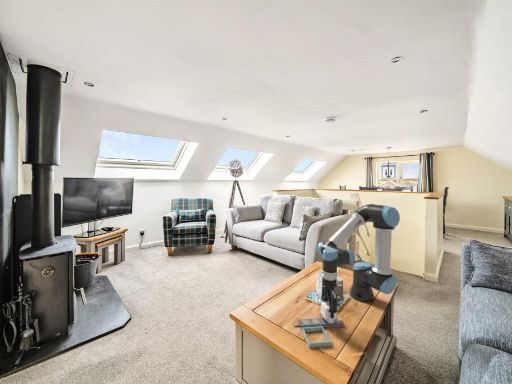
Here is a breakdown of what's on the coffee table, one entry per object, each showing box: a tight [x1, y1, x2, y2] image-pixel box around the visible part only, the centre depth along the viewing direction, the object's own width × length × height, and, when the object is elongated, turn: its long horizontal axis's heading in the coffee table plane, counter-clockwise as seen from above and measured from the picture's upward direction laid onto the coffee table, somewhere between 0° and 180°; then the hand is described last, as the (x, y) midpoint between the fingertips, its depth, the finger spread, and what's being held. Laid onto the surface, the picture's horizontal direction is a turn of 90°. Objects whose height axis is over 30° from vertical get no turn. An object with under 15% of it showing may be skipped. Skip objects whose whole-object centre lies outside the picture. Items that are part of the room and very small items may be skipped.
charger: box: [320, 301, 338, 322], centre depth 121 cm, size 6×6×8 cm
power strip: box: [293, 316, 345, 331], centre depth 121 cm, size 27×5×4 cm, turn 97°
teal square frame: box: [301, 326, 333, 349], centre depth 111 cm, size 11×11×3 cm
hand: (328, 318), depth 121 cm, fingers closed on charger, 6 cm apart
